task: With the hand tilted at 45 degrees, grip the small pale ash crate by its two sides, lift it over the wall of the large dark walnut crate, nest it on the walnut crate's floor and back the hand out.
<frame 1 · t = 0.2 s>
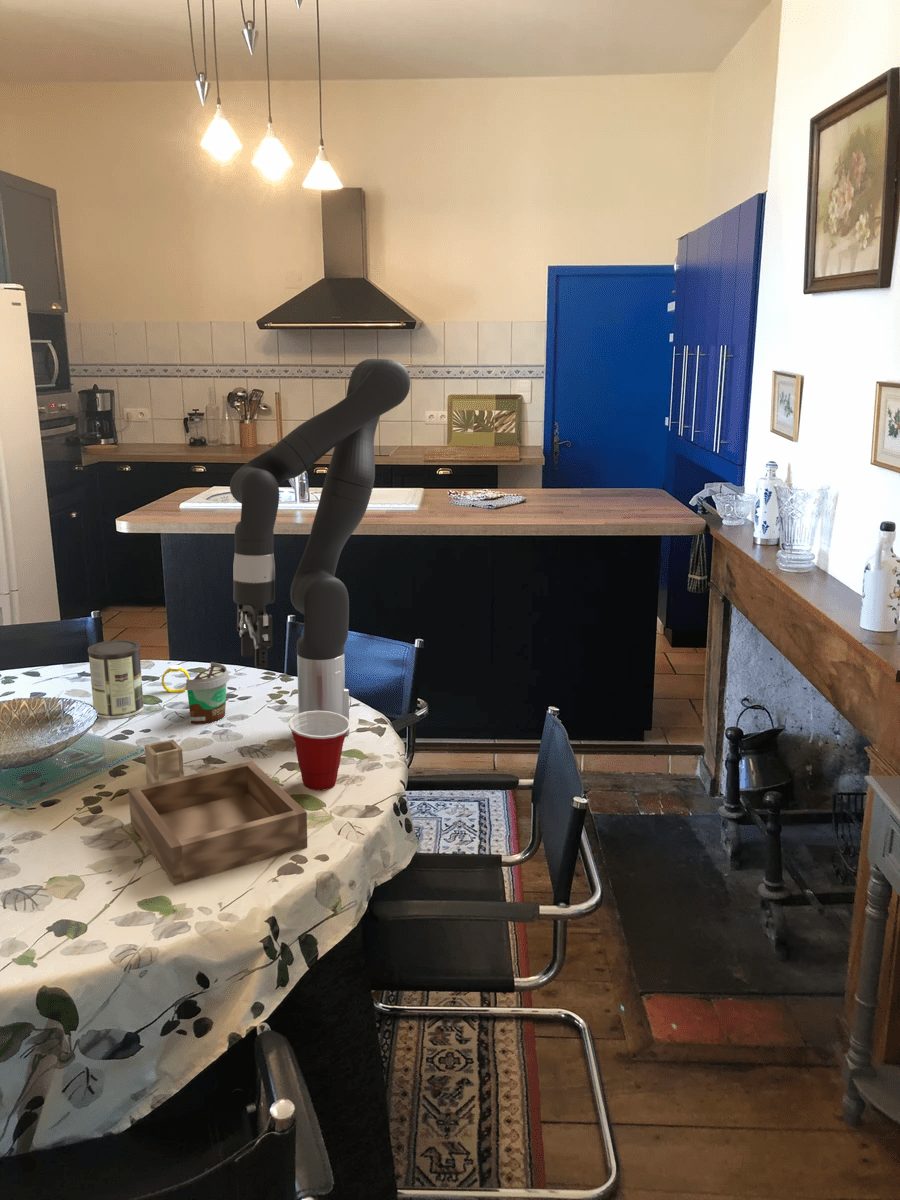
hand: (254, 662, 179), 18 cm above the table, tool pointing down, fingers open, 8 cm apart
plastic cup: (320, 785, 170), on the table
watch: (176, 692, 214), on the table
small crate: (165, 789, 167), on the table
coffee can: (118, 711, 202), on the table
crate: (217, 834, 152), on the table
food container: (214, 718, 199), on the table
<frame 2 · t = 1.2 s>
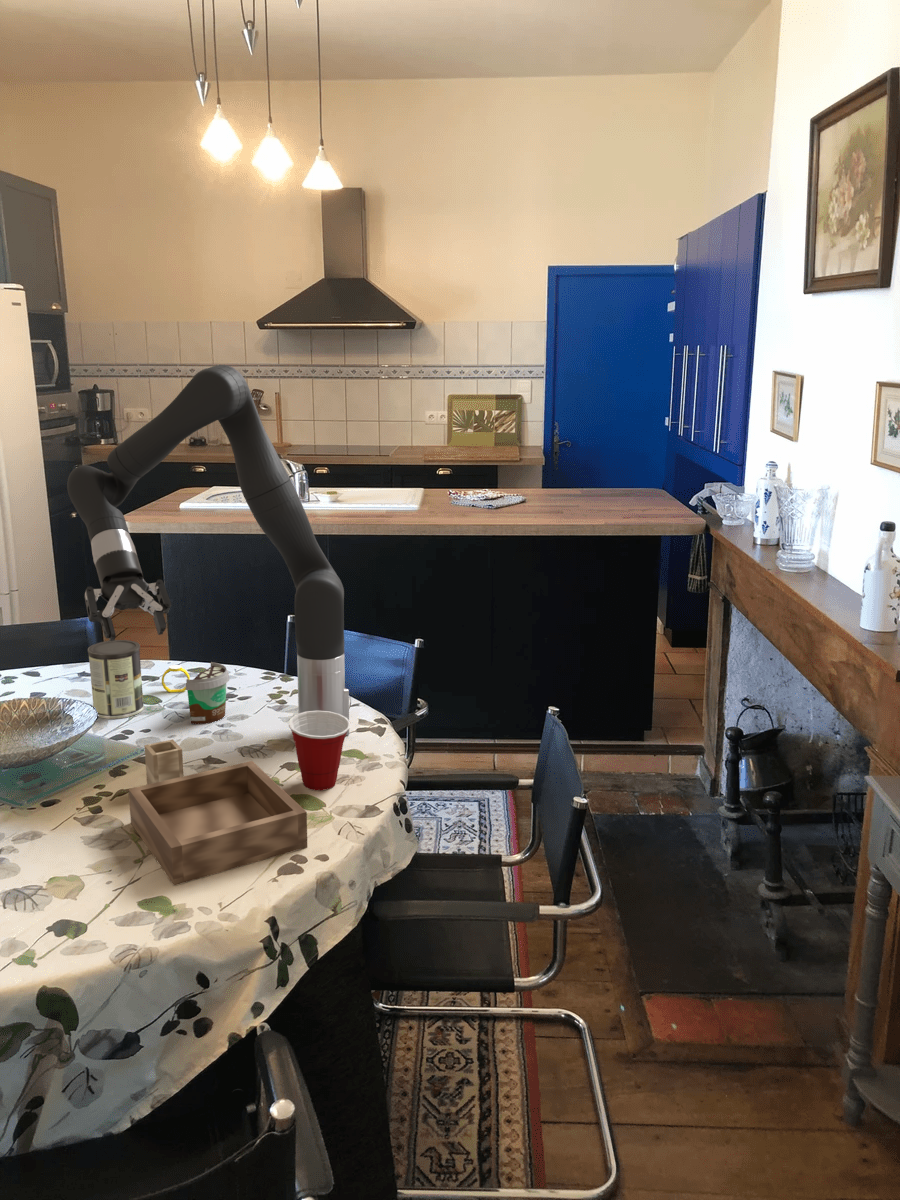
hand: (137, 635, 169), 25 cm above the table, tool tilted 45°, fingers open, 8 cm apart
nothing on the table moved.
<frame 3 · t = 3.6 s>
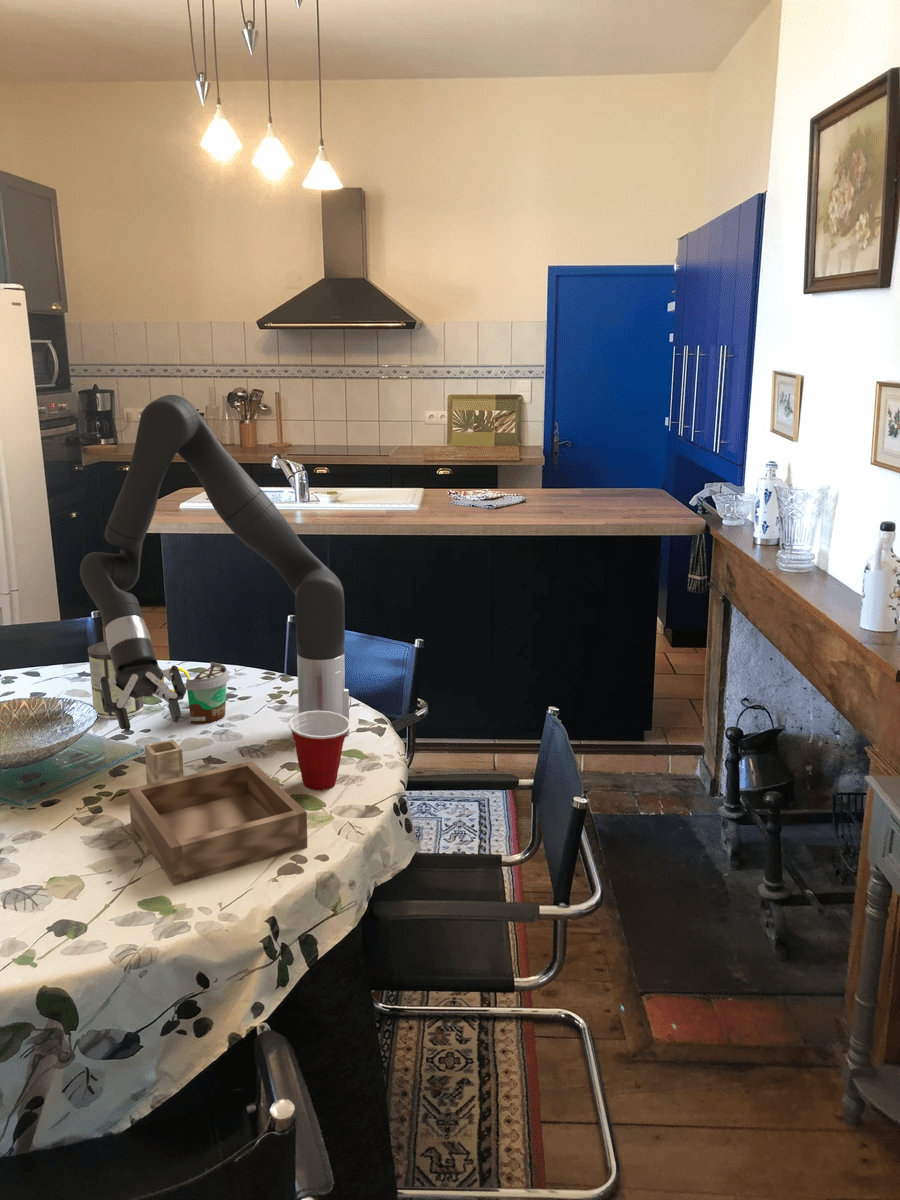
hand: (152, 725, 168), 10 cm above the table, tool tilted 45°, fingers open, 8 cm apart
nothing on the table moved.
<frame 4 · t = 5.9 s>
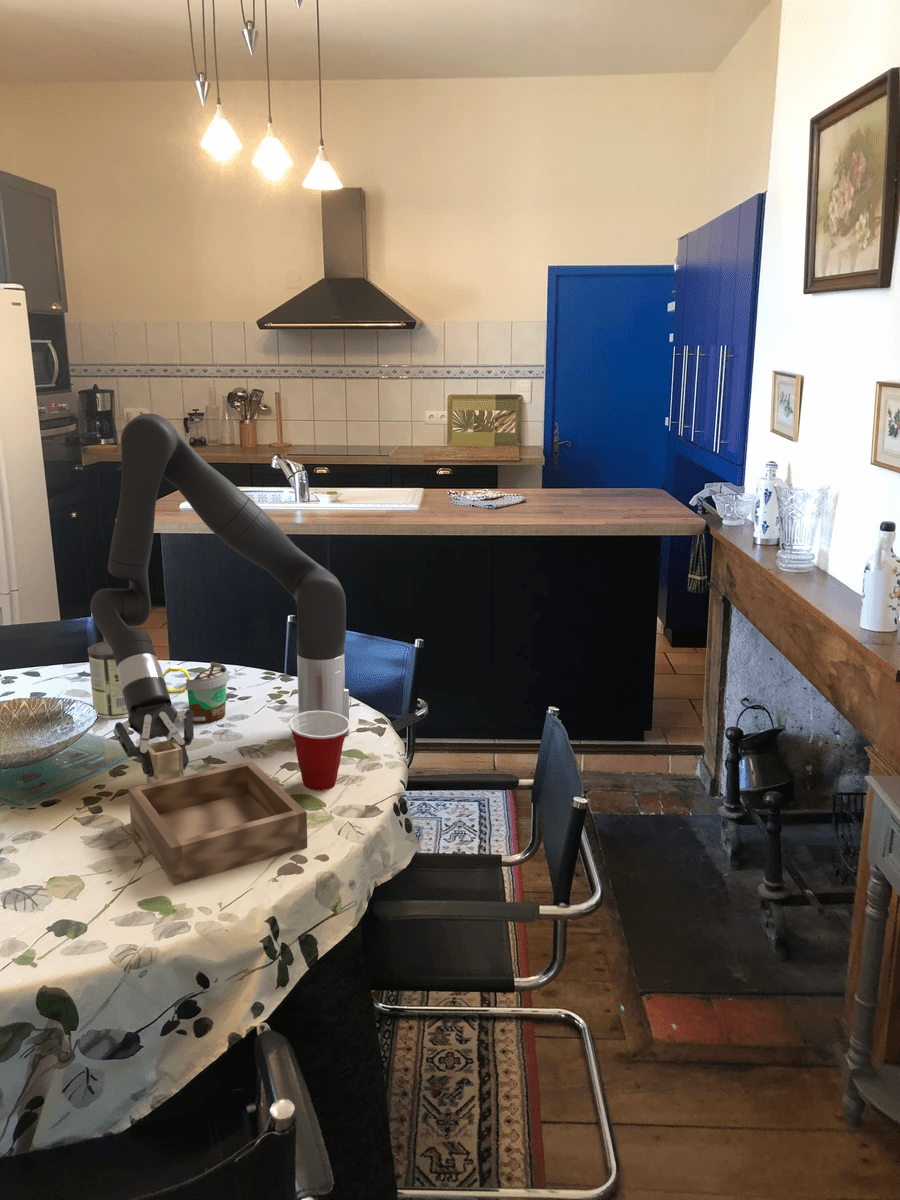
hand: (167, 771, 164), 4 cm above the table, tool tilted 45°, fingers closed on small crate, 5 cm apart
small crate: (165, 789, 167), on the table, touching gripper
everything else where it was.
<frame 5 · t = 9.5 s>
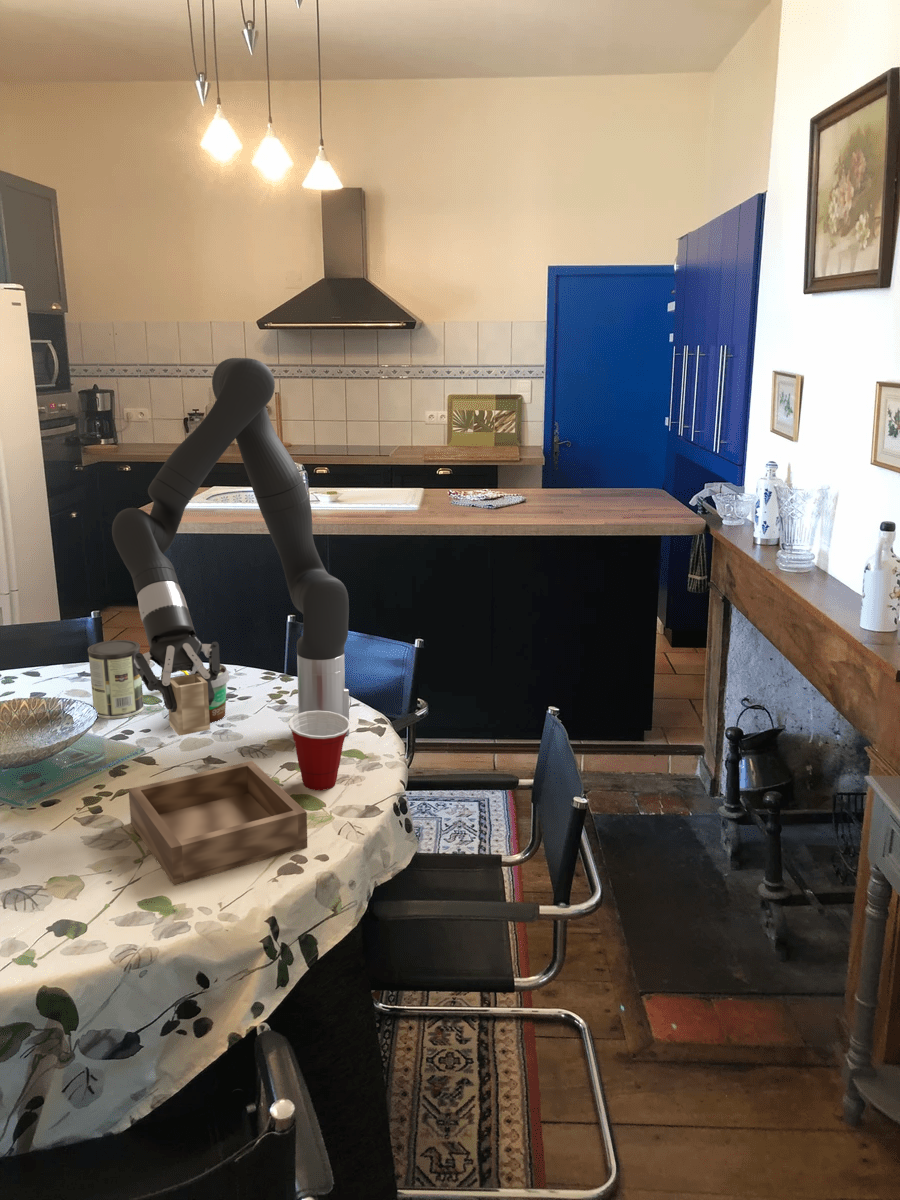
hand: (192, 706, 151), 20 cm above the table, tool tilted 45°, fingers closed on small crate, 5 cm apart
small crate: (189, 727, 153), point 16 cm above the table, touching gripper
everything else where it was.
when the fingers open (7 cm above the table, at t = 13.2 s): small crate drops 1 cm, resting on crate.
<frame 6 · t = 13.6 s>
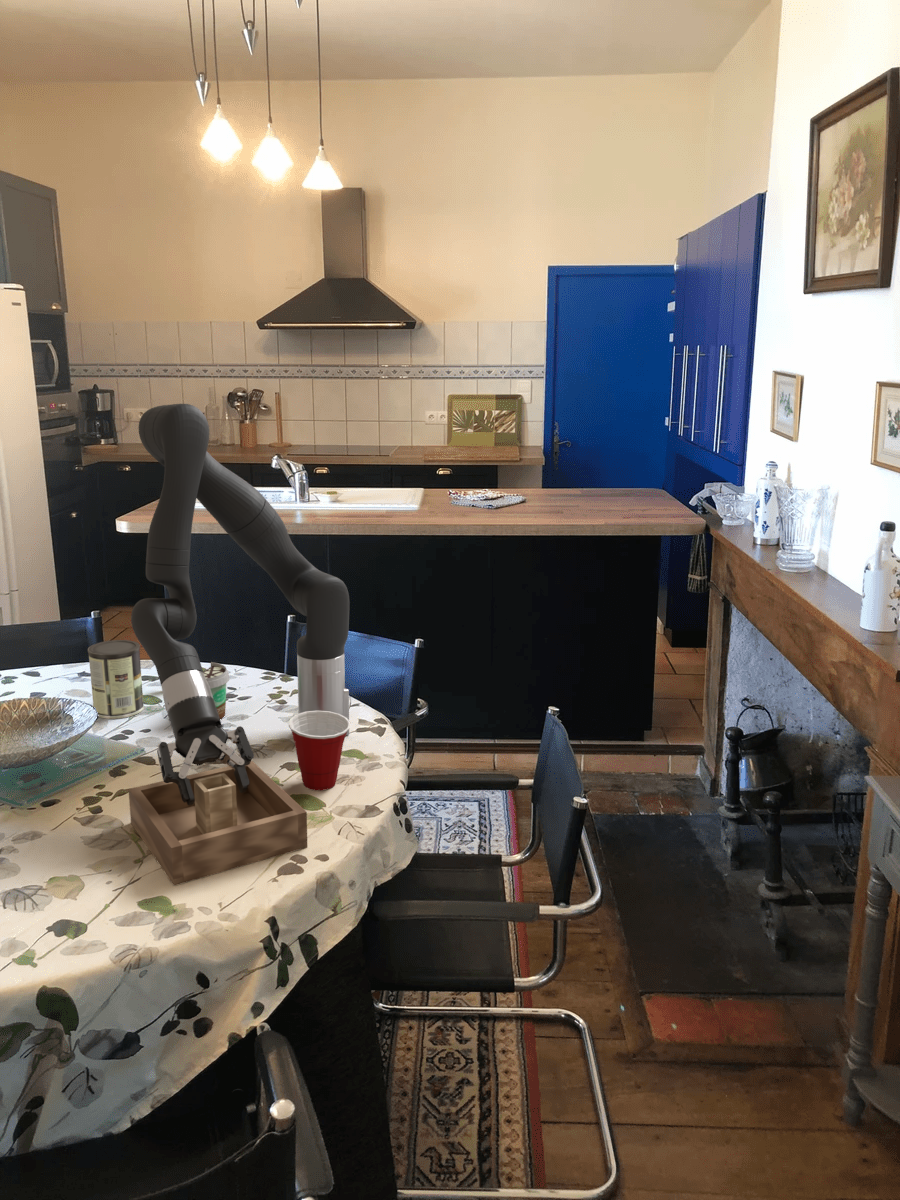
hand: (218, 796, 149), 7 cm above the table, tool tilted 45°, fingers open, 8 cm apart
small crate: (216, 828, 151), point 1 cm above the table, touching crate
everything else where it was.
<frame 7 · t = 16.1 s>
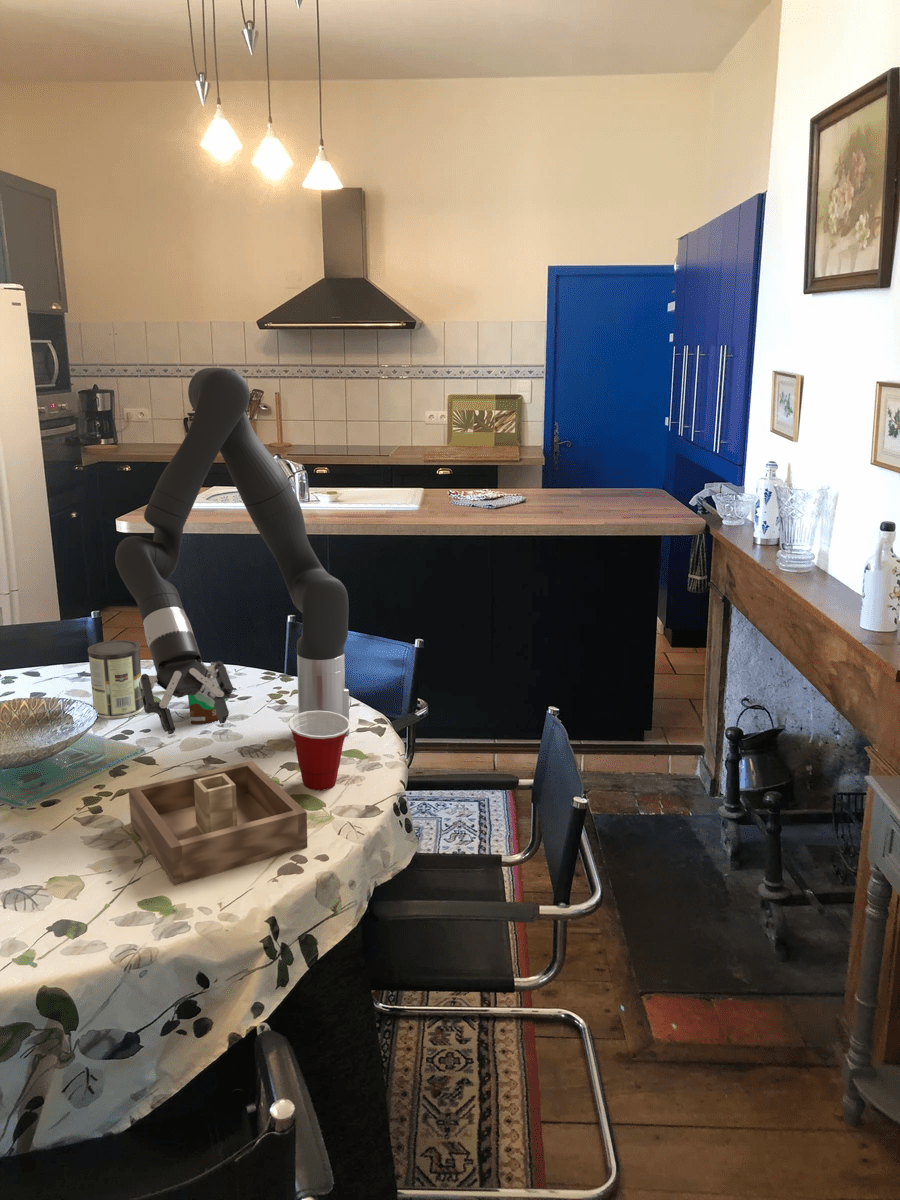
hand: (198, 726, 154), 16 cm above the table, tool tilted 45°, fingers open, 8 cm apart
nothing on the table moved.
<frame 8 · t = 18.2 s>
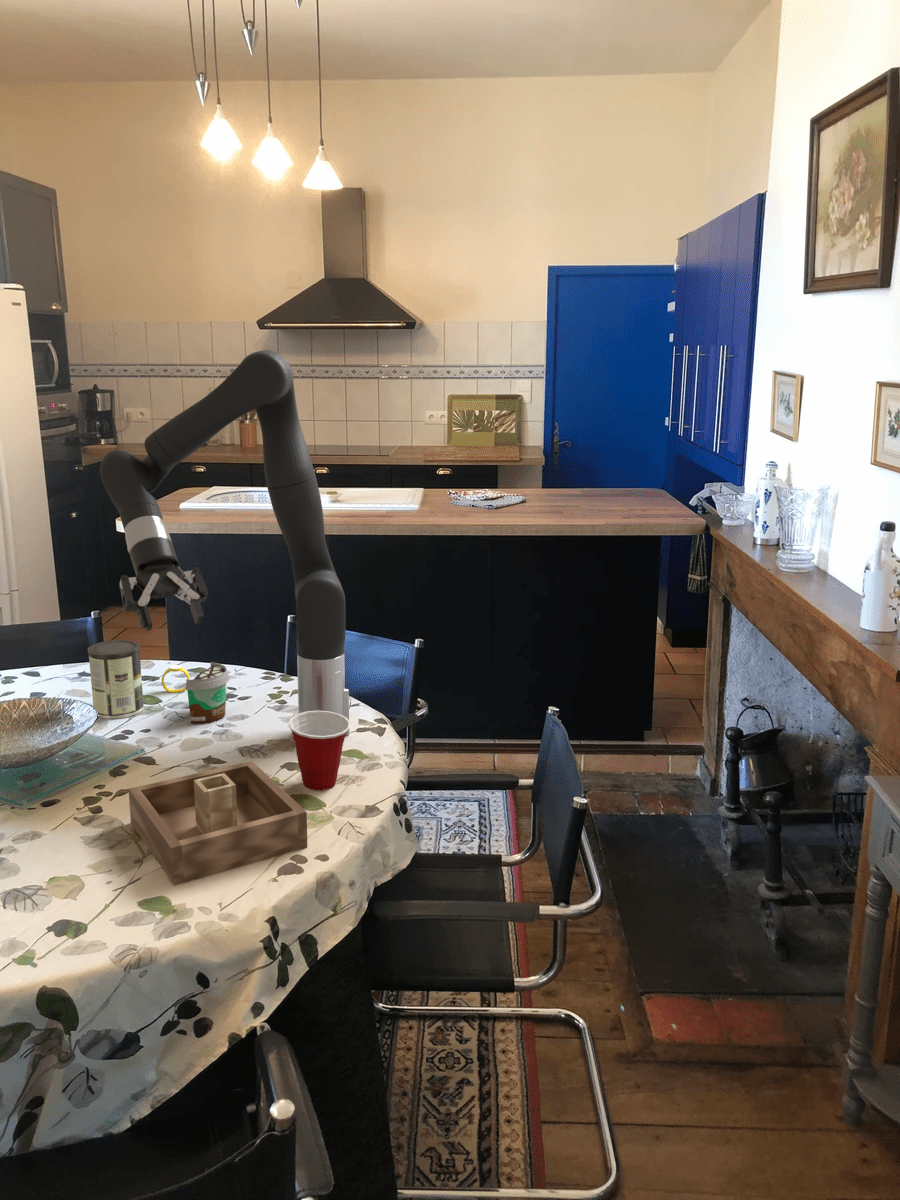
hand: (174, 625, 164), 29 cm above the table, tool tilted 45°, fingers open, 8 cm apart
nothing on the table moved.
at the end: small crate inside the target area on the crate (0.1 cm from its centre), point 1.0 cm above the crate's base; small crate tilted 0°; the gripper is holding nothing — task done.
